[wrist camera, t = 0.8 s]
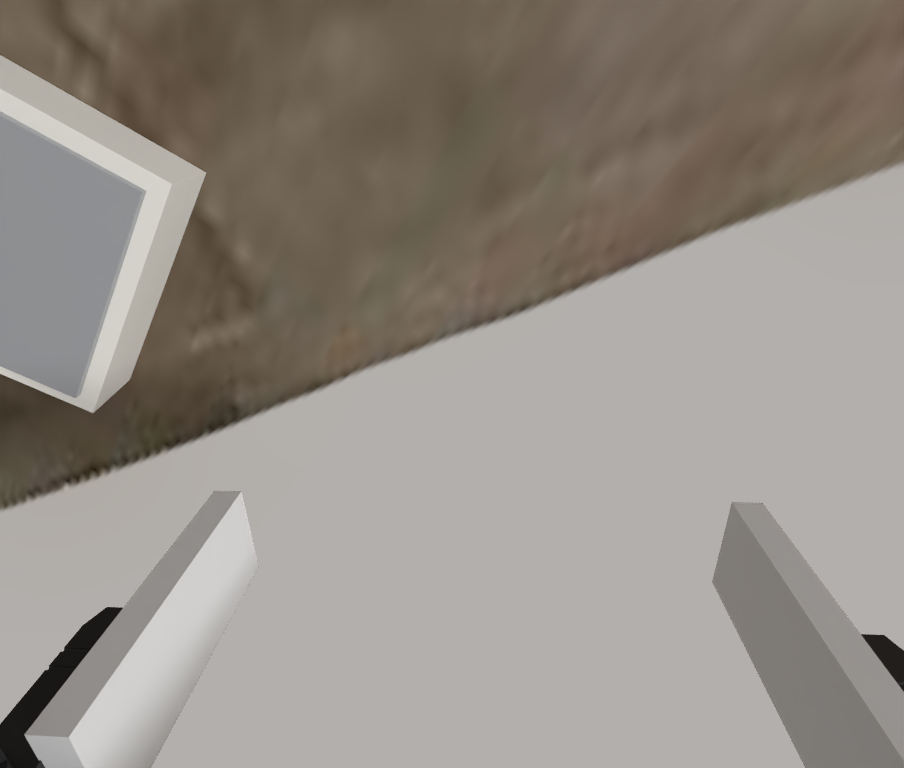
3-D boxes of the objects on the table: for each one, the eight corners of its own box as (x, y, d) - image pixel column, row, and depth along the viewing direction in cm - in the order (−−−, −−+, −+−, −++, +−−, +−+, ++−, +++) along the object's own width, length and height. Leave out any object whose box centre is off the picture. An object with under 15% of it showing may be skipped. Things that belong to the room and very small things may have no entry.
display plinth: (-103, -4, 27) (-210, -24, 22) (206, 172, 31) (167, 185, 27) (-129, 263, 33) (-216, 289, 29) (130, 379, 37) (88, 417, 33)
